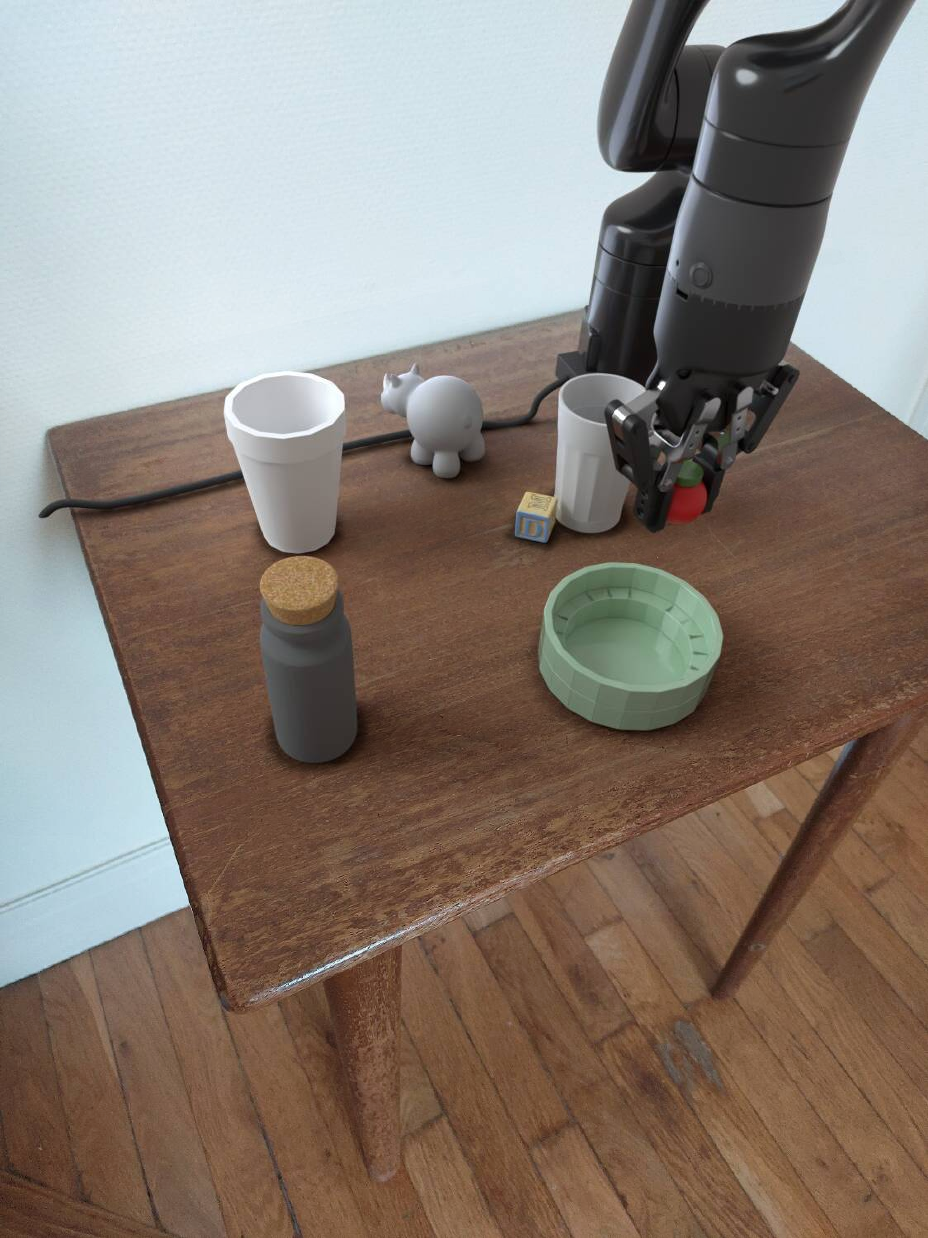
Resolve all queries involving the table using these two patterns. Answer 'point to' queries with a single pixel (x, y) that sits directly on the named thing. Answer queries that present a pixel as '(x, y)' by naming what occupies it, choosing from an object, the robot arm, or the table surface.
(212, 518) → the table surface
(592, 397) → the cup
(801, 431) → the table surface
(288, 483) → the foam cup
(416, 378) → the toy rhinoceros
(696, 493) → the toy tomato
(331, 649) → the bottle
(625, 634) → the bowl
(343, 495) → the table surface
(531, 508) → the alphabet block
